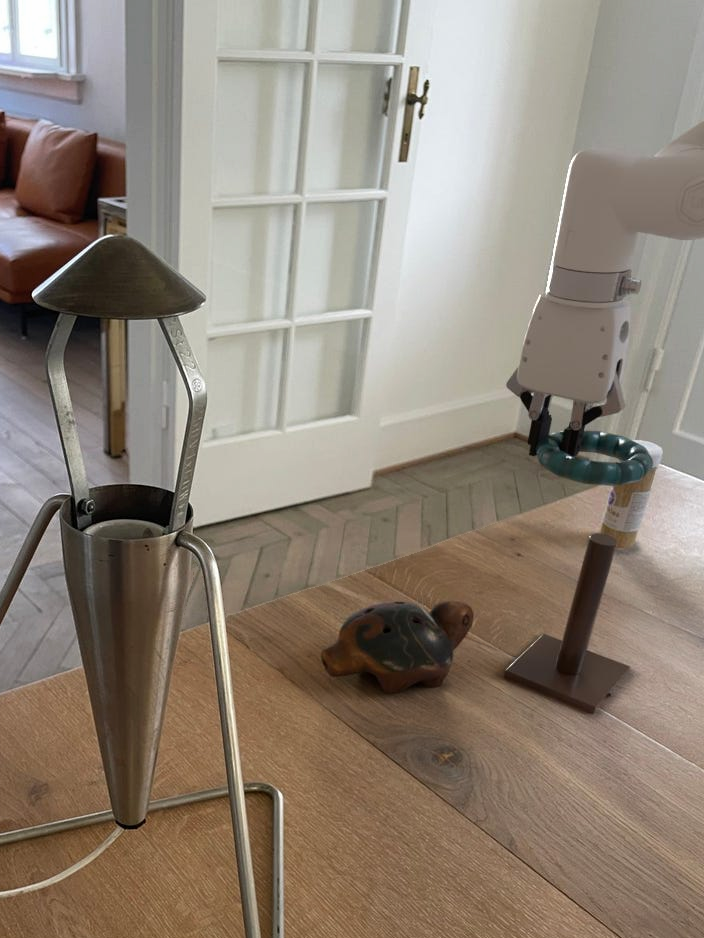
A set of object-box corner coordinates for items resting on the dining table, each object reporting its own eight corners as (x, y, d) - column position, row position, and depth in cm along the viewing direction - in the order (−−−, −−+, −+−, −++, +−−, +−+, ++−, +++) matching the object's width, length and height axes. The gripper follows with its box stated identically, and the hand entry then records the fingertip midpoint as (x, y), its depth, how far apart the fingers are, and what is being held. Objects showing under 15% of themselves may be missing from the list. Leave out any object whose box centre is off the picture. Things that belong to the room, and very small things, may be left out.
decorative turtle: (488, 688, 93) (501, 620, 88) (348, 728, 89) (354, 659, 84) (434, 632, 101) (444, 568, 96) (302, 667, 96) (306, 601, 91)
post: (626, 678, 95) (670, 538, 87) (591, 720, 90) (635, 573, 81) (540, 645, 100) (574, 508, 92) (502, 682, 94) (535, 540, 86)
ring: (663, 465, 106) (669, 444, 105) (625, 498, 98) (630, 476, 97) (560, 439, 112) (565, 419, 111) (517, 469, 105) (520, 448, 103)
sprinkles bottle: (587, 542, 121) (614, 439, 114) (619, 539, 122) (648, 437, 115) (608, 558, 117) (637, 454, 110) (641, 555, 118) (672, 451, 111)
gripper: (680, 290, 96) (635, 465, 106) (527, 267, 105) (499, 430, 115) (654, 304, 91) (610, 485, 101) (496, 278, 100) (469, 448, 110)
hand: (551, 455), depth 108 cm, fingers closed on ring, 2 cm apart
